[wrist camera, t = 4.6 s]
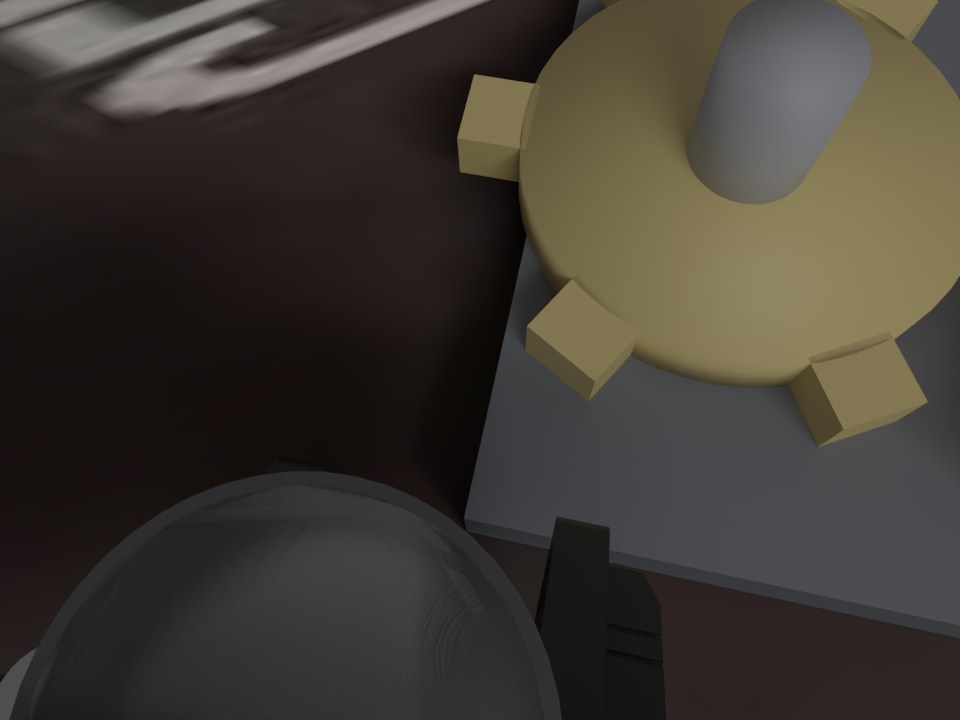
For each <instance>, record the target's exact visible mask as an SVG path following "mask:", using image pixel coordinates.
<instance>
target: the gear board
mask: <svg viewBox="0 0 960 720" xmlns="http://www.w3.org/2000/svg"><path fill="white" fill-rule="evenodd" d="M457 141H458V153H459V165H460V172H463V173H469V174H475V175H481V176H487V177H493V178H498V179H504V180H510V181H516V182H519V202H520V209H521V216H522V222H523V225H524V228H525V232H526V235H527V237H526V242H525V246H524V251H523V255H522V260H521V264H520V269H519V273H518V278H517V282H516V287H515V291H514V296H513V300H512V305H511V309H510V314H509V318H508V323H507V327H506V332H505V336H504V340H503V345H502V349H501V354H500V358H499V363H498V367H497V372H496V376H495V381H494V385H493V390H492V394H491V399H490V403H489V408H488V412H487V417H486V421H485V426H484V430H483V435H482V439H481V444H480V448H479V453H478V457H477V462H476V466H475V471H474V475H473V480H472V484H471V489H470V493H469V498H468V502H467V507H466V511H465V516H464V521H465V525H466V528H467V532H471V533H476V534H480V535H485V536H490V537H494V538H499V539H503V540H508V541H513V542H517V543H522V544H527V545H531V546H536V547H540V548H545V549H550V544H551V540H552V535H553V530H554V526H555V521H556V518H557V516H559V517H563V518H568V519H573V520H578V521H582V522H587V523H592V524H597V525H601V526H606V527H609V528H610V548H609V562H610V563H614V564H619V565H623V566H628V567H633V568H637V569H642V570H647V571H651V572H656V573H660V574H665V575H670V576H674V577H679V578H684V579H688V580H693V581H697V582H702V583H707V584H711V585H716V586H720V587H725V588H730V589H734V590H739V591H744V592H748V593H753V594H757V595H762V596H767V597H771V598H776V599H780V600H785V601H790V602H794V603H799V604H804V605H808V606H813V607H817V608H822V609H827V610H831V611H836V612H840V613H845V614H850V615H854V616H859V617H864V618H868V619H873V620H877V621H882V622H887V623H891V624H896V625H901V626H905V627H910V628H914V629H919V630H924V631H928V632H933V633H937V634H942V635H947V636H951V637H956V638H960V0H579V4H578V8H577V13H576V17H575V22H574V26H573V31H572V34H571V35H570V36H569V37H568V38H567V39H566V40H565V41H564V42H563V43H562V44H561V45H560V47H559V48H558V49H557V50H556V51H555V52H554V54H553V55H552V57H551V58H550V59H549V61H548V62H547V64H546V65H545V67H544V68H543V69H542V71H541V73H540V75H539V77H538V79H537V81H536V83H535V84H532V83H526V82H520V81H513V80H507V79H501V78H494V77H488V76H482V75H476V74H474V77H473V81H472V85H471V88H470V92H469V96H468V100H467V103H466V107H465V111H464V114H463V118H462V122H461V126H460V129H459V133H458V137H457Z"/></svg>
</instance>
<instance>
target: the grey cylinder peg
mask: <svg viewBox="0 0 960 720" xmlns="http://www.w3.org/2000/svg"><path fill="white" fill-rule="evenodd" d="M9 720H562V717H561V710H560V702H559V695H558V691H557V688H556V684H555V680H554V676H553V672H552V669H551V665H550V661H549V657H548V655H547V652H546V650H545V647H544V645H543V642H542V640H541V637H540V635H539V632H538V630H537V627H536V625H535V622H534V620H533V619H532V617H531V615H530V613H529V611H528V610H527V608H526V606H525V604H524V602H523V601H522V599H521V597H520V595H519V593H518V591H517V590H516V588H515V587H514V586H513V584H512V583H511V582H510V580H509V579H508V578H507V576H506V575H505V573H504V572H503V571H502V569H501V568H500V567H499V565H498V564H497V562H496V561H495V560H494V559H493V558H492V557H491V556H490V555H489V554H488V553H487V552H486V551H485V550H484V549H483V548H482V547H481V545H480V544H479V543H478V542H477V541H476V540H475V539H474V538H473V537H472V536H471V535H469V534H468V533H467V532H466V531H464V530H463V529H462V528H461V527H459V526H458V525H457V524H456V523H455V522H453V521H452V520H451V519H450V518H448V517H447V516H446V515H444V514H443V513H441V512H439V511H438V510H436V509H434V508H433V507H431V506H429V505H428V504H426V503H424V502H423V501H421V500H419V499H418V498H416V497H413V496H411V495H409V494H406V493H404V492H402V491H400V490H397V489H395V488H393V487H390V486H388V485H385V484H381V483H378V482H374V481H371V480H367V479H364V478H360V477H357V476H350V475H343V474H336V473H329V472H309V471H289V472H281V473H272V474H264V475H257V476H253V477H249V478H245V479H241V480H236V481H232V482H228V483H225V484H222V485H219V486H217V487H214V488H212V489H209V490H206V491H204V492H201V493H199V494H196V495H193V496H191V497H190V498H188V499H186V500H184V501H182V502H180V503H178V504H176V505H174V506H172V507H171V508H169V509H167V510H165V511H163V512H161V513H160V514H158V515H157V516H155V517H154V518H153V519H151V520H150V521H148V522H147V523H145V524H144V525H142V526H141V527H139V528H138V529H136V530H135V531H134V532H132V533H131V534H130V535H129V536H128V537H126V538H125V539H124V540H123V541H122V542H121V543H120V544H118V545H117V546H116V547H115V548H114V549H113V550H111V551H110V552H109V553H108V554H107V555H106V556H105V557H104V558H103V559H102V560H101V561H100V562H99V563H98V564H97V565H96V566H95V567H94V568H93V570H92V571H91V572H90V573H89V574H88V575H87V576H86V577H85V578H84V579H83V580H82V581H81V582H80V584H79V585H78V586H77V588H76V589H75V590H74V592H73V593H72V594H71V596H70V597H69V598H68V600H67V601H66V602H65V604H64V605H63V607H62V608H61V609H60V611H59V612H58V613H57V615H56V616H55V618H54V620H53V621H52V623H51V625H50V627H49V628H48V630H47V632H46V633H45V635H44V637H43V639H42V640H41V642H40V644H39V645H38V647H37V649H36V651H35V653H34V656H33V658H32V660H31V662H30V665H29V667H28V669H27V671H26V674H25V676H24V678H23V680H22V682H21V685H20V688H19V691H18V694H17V697H16V700H15V703H14V706H13V709H12V712H11V716H10V719H9Z"/></svg>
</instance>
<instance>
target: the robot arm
mask: <svg viewBox="0 0 960 720" xmlns="http://www.w3.org/2000/svg"><path fill="white" fill-rule="evenodd" d="M289 471H309V472H329V473H333V471H332V469H331V468H329V467H324V466H320V465H315V464H310V463H305V462H301V461H296V460H291V459H287V458H282V457H280V458H278V459H276V460H275V461H274V462H273V464H272V465H271V466H270V467H269V469H268V470H267V471H266V473H265V474H272V473H281V472H289ZM609 548H610V528H609V527H606V526H601V525H597V524H592V523H587V522H582V521H578V520H573V519H568V518H563V517H559V516H557V518H556V521H555V526H554V530H553V535H552V540H551V544H550V549H549V554H548V559H547V563H546V568H545V573H544V578H543V582H542V587H541V592H540V596H539V601H538V606H537V611H536V616H535V621H534V622H535V625H536V627H537V630H538V632H539V635H540V637H541V640H542V642H543V645H544V647H545V650H546V652H547V655H548V657H549V661H550V665H551V669H552V672H553V676H554V680H555V684H556V688H557V691H558V695H559V702H560V710H561V717H562V720H666V710H665V690H664V670H663V668H662V664H663V651H662V641H661V636H662V631H661V611H660V603H659V601H658V599H657V597H656V596H655V594H654V592H653V590H652V588H651V587H650V585H649V583H648V581H647V580H646V578H645V576H644V574H643V573H639V572H635V571H630V570H625V569H621V568H616V567H611V566H609ZM36 649H37V648H36ZM36 649H34V650H32V651H31V652H29V653H28V654H27V655H25V656H24V657H23V658H21V659H20V660H19V661H18V662H17V663H16V664H15V665H14V666H13V667H12V668H11V669H10V670H9V672H8V673H7V674H3V675H0V720H9V719H10V716H11V712H12V709H13V706H14V703H15V700H16V697H17V694H18V691H19V688H20V685H21V682H22V680H23V678H24V676H25V674H26V671H27V669H28V667H29V665H30V662H31V660H32V658H33V656H34V653H35V651H36Z"/></svg>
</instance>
